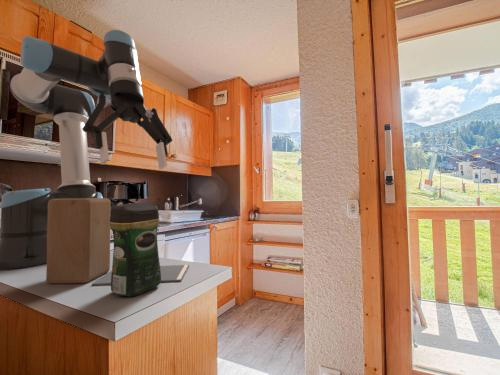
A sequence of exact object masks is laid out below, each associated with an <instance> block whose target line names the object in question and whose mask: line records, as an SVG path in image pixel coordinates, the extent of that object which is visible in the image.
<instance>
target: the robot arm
mask: <svg viewBox="0 0 500 375" xmlns="http://www.w3.org/2000/svg"><path fill="white" fill-rule="evenodd" d="M103 47H104V50H103V52H102V54H101V56H100V57H99V60H96V59H94V58H91V57H89V56H86V55H83V54H80V53H78V52H75V51H72V50H69V49H68V48H67V49H66V48H65V47H62V46H60V45H56V44H55V43H54V44H53V43H51V42H49V41H48V40H45V39H40V38H36V37H34V36H30V35H25V36H24V37H23V38H22V40H21V45H20V58H19V59H20V64H21V66H22V67H23V68H22V69H21V72H20V73H17V74H15V75H13V77H12V78H11V80H10V83H9V89H10V92H11V94H12V96H13V97H14V98H15V99H16V100H17V101H18V102H19V103H21V105H23V106H24V107H26V108H28V109H30V110H32V111H34V112H37V113H40V114H46V115H50V116H53V122H54V123H56V125H58V131H59V132H58V133H59V153H60V156H59V157H60V172H61V175H60V176H61V184H60V185H59V186H58V187H57V188H56V191H55V192H52V189H51V188H50V187H44V188H33V189H32V188H31V189H21V190H11V191H7V192H4V193H3V194H2V196H1V199H0V200H1V201H0V202H1V203H0V270H10V269H11V270H12V269H20V268H29V267H33V266H38V265H39V266H40V265H43V264H47V222H48V202H49V200H51V199H67V198H104V197H103V194H102V193H101V192H99V191H97V190H96V188H97V187H96V186H95V185H94V184H93V183H91V175H90V174H91V173H90V161H89V148H88V134H87V133H90V135H91V137H92V138H93V146H94V148H95V149H98V151H99V160H100V165H106V164H107V163H108V161H109V160H110V157H109V147H108V138H107V132H106V131H105V130H106V129H107V128H109V127H110V125H112V124H113V123H114V122H115V121H117V120H118V119H120V120H121V121H122V122H129V123H132V124H137V125H138V126H139V127H140V128H142V129H143V130H144V131H145V132H146V134H148V135H149V137H150V138H151V139H152V140H153V141H154V142H155V143H156V145H155V151H156V152H155V153H156V158H157V163H158V169H159V170H163V169H164V168H166V167H167V166H168V163H167V157H166V156H167V155H168V147H167V146H168V145H169V144H171V143H172V142H173V138H172V136H171V135H170V133H169V132H168V130H167V128H166V127H165V125H164V123H163V122H162V120H161V118H160V117H159V114H158V111H157V109H156V108H154V107H153V108H151V109H148V108H146V106H145V103H144V102H145V101H144V93H143V88H142V81H141V73H140V66H139V59H138V50H137V48H136V44H135V41H134V39H133V37H132V36H131V35H130V34H128V33H127V32H125V31H122V30H120V29H111V30H108V31H107V32H105V34H104V36H103ZM61 80H63V81H67V82H70V83H74V84H77V85H80V86H84V87H87V88H88V90H89V92H91V94H92V95H95V96H96V97H97V99H96V101H95V100H94V98H93V97H92V95H90V93H88V92H86V91H82V90H80V89H78V88H71V87H69V86H68V87H67V86H65V85H61V84H58V83H59V82H61ZM95 102H96V103H95ZM108 106H109V107H110V108H111V110H112V111H113V112H112V113H111V114H110V115H109V116H107V117H106V118H105V119H104V120H103V121H102V122H100V123H99V124H98V125H94V124H95V122H96V120H97V119H98V117H99V116H100V114H101V113H102V110H103V109H104V108H107V107H108Z"/></svg>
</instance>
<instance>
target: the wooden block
mask: <svg viewBox="0 0 500 375" xmlns="http://www.w3.org/2000/svg"><path fill="white" fill-rule="evenodd" d="M111 208H112V207H111V200H110V198H107V197H103V198H67V199H51V200H49V202H48V222H47V263H46V278H45V279H46V282H47V283H48V284H87V283H89V282H91V281H93V280H94V279H97V278H99V277H100V276H101V277H102V276H104V275H106V274H108V273H109V271H110V269H111V227H110V223H109V222H110V215H111V214H110V212H111Z"/></svg>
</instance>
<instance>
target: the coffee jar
mask: <svg viewBox="0 0 500 375" xmlns="http://www.w3.org/2000/svg"><path fill="white" fill-rule="evenodd" d="M109 223H110V230H111V232H112V233H113V234H112V235H113V250H112V251H113V253H112V267H111V271H112V275H111V285H110V291H111V292H112V293H113V294H114V295H115V296H118V297H133V296H137V295H139V294H143V293H145V292H147V291H149V290H151V289H154V288H156V287H158V286H159V285H161V283H162V282H161V270H160V266H161V265H160V258H159V257H160V256H159V255H160V254H159V246H158V228H159V223H160V212H159V208H158V205H157V204H156V203H148V202H132V203H125V204H119V205H118V204H117V205H113V206H112V207H111V209H110V222H109Z"/></svg>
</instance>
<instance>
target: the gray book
mask: <svg viewBox="0 0 500 375" xmlns="http://www.w3.org/2000/svg"><path fill="white" fill-rule="evenodd" d="M189 267H190V265H189V264H177V265H173V264H172V265H160V270H161V282H160V283H174V282H175V283H177V282H178V283H179V282H182V281H183V279H184V277H185V275H186V273H187V272H188V269H189ZM111 275H112V270H111V271H110V272H109V271H108V272H107V273H105V274H104V275H102V276H101V277H100V278H98V279H97V280H95V281H93V283H91V286H94V287H95V286H111Z"/></svg>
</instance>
